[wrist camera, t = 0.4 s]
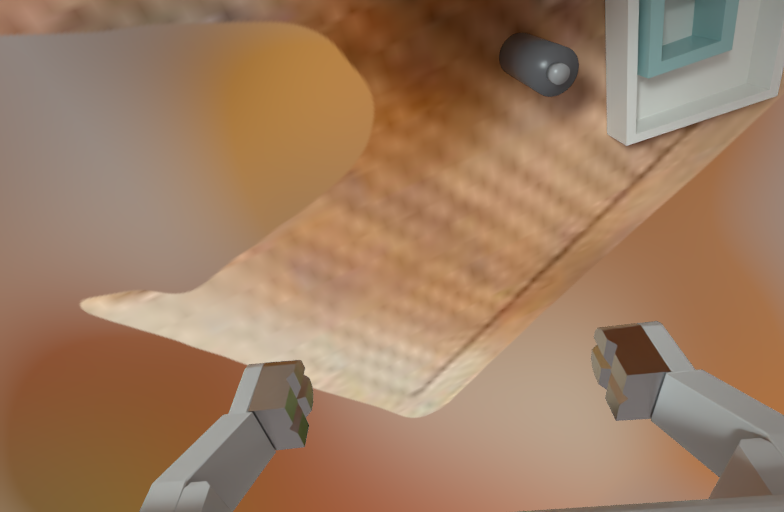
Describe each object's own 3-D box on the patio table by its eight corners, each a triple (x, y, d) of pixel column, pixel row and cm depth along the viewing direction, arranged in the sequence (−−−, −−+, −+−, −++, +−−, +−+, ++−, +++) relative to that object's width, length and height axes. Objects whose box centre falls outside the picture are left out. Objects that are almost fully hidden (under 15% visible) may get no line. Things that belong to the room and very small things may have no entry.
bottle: (496, 40, 42) (534, 58, 34) (535, 26, 42) (583, 40, 34) (502, 80, 45) (539, 106, 36) (539, 67, 44) (585, 90, 36)
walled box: (603, -101, 37) (636, -109, 33) (792, -174, 35) (851, -192, 31) (607, 134, 49) (631, 149, 45) (747, 87, 48) (785, 98, 44)
